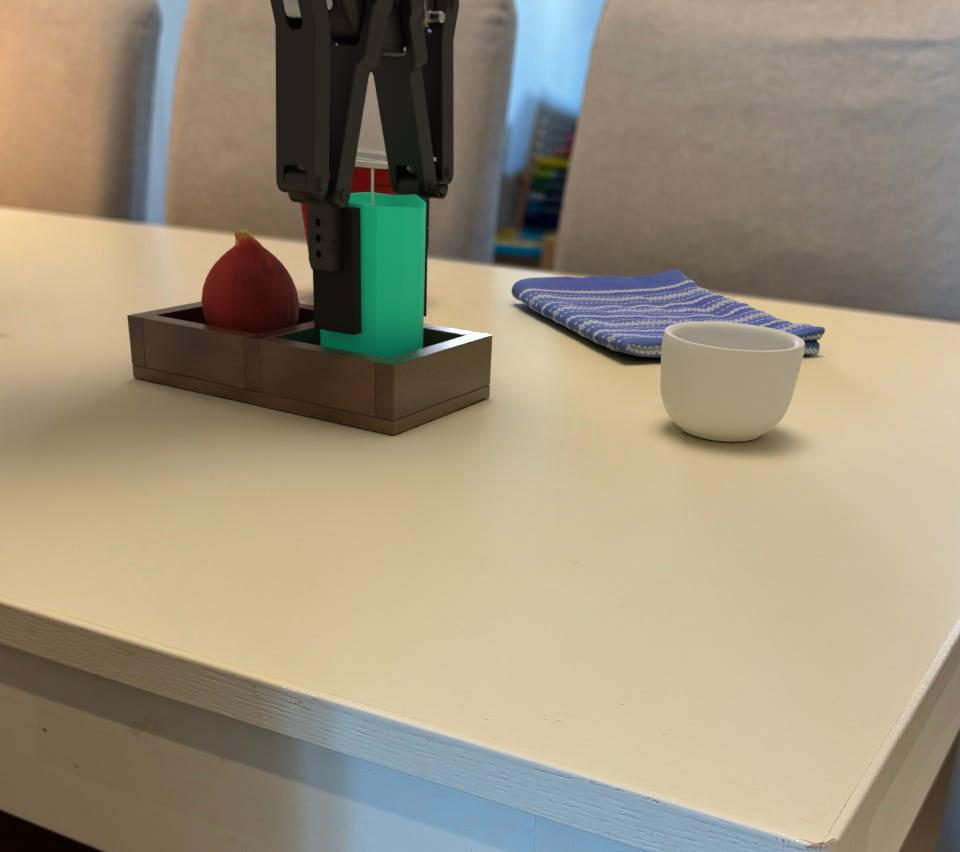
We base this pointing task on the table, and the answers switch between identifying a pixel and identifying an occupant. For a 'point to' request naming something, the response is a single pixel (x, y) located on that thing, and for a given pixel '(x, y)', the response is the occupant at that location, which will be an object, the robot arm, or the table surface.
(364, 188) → the plastic cup
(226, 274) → the onion
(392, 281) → the candle
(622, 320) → the dish towel
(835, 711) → the table surface
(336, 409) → the tray
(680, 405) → the teacup
